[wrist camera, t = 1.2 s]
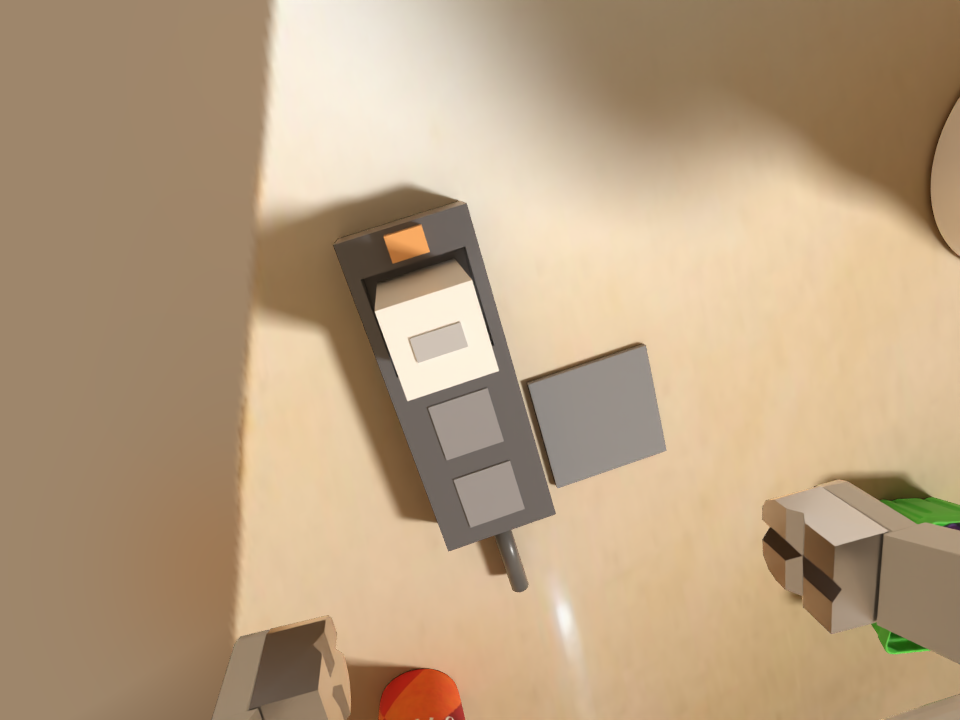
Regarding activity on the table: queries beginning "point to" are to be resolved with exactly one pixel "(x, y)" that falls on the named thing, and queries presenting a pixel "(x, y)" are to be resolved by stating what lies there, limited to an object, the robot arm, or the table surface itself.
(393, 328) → the block
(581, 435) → the mat
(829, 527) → the robot arm
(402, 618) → the table surface
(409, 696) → the coffee cup
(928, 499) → the fruit basket
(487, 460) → the power strip
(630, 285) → the table surface
